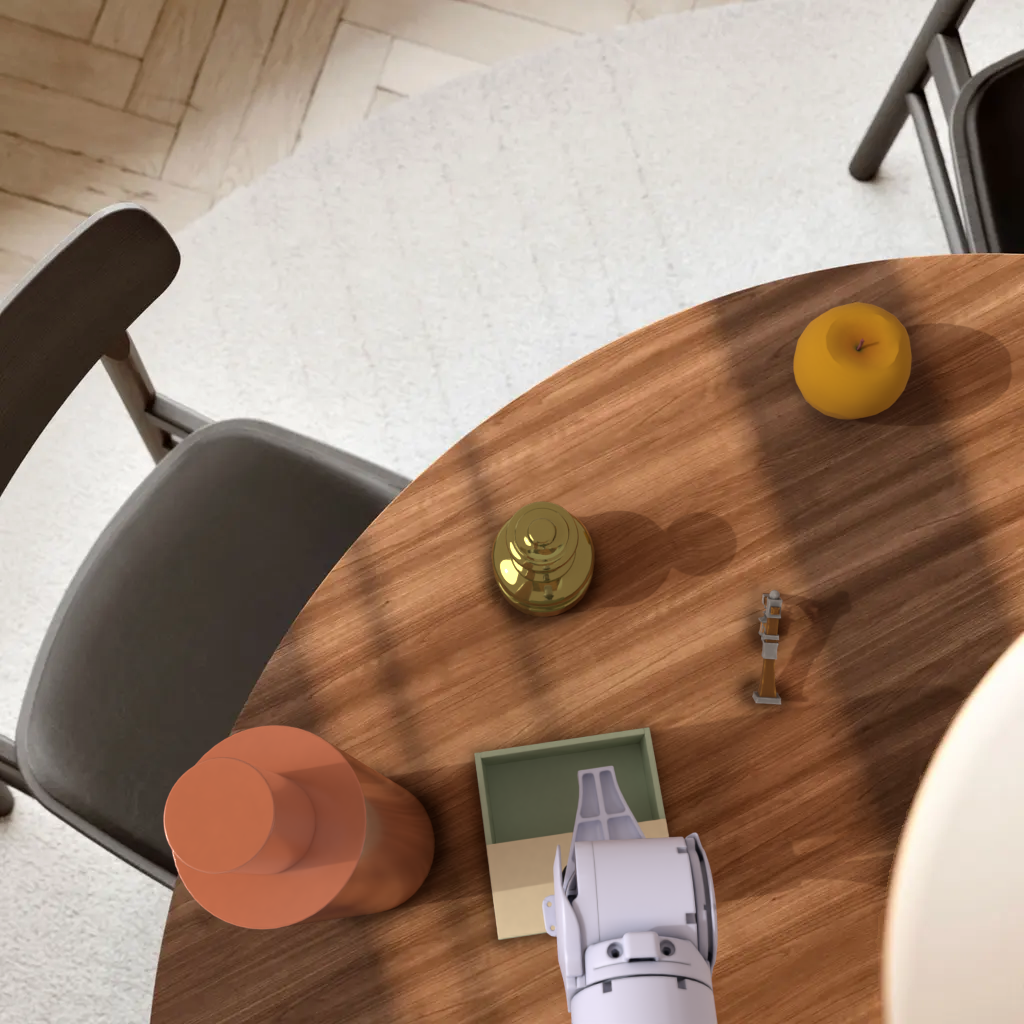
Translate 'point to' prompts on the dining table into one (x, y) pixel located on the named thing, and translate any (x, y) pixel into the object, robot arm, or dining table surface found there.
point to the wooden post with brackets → (769, 648)
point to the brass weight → (543, 559)
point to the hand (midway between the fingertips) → (611, 903)
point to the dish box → (562, 783)
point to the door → (533, 878)
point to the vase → (294, 832)
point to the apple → (853, 361)
